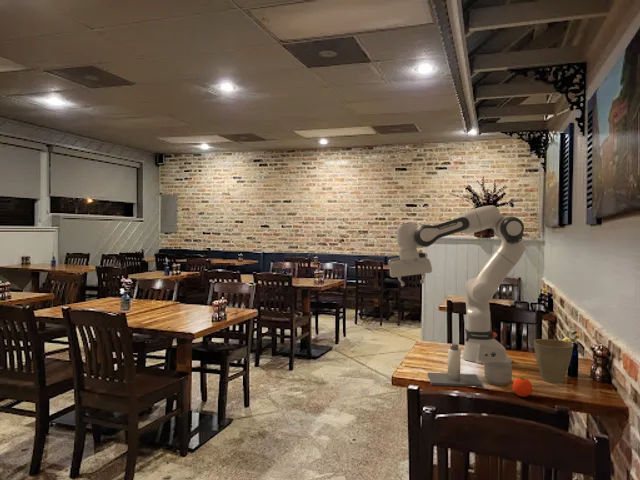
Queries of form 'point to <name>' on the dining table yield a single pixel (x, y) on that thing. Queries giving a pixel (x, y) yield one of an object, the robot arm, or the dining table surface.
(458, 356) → the pepper mill
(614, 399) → the dining table surface
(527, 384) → the clementine
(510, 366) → the teacup
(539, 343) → the plant pot
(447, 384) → the slate board
